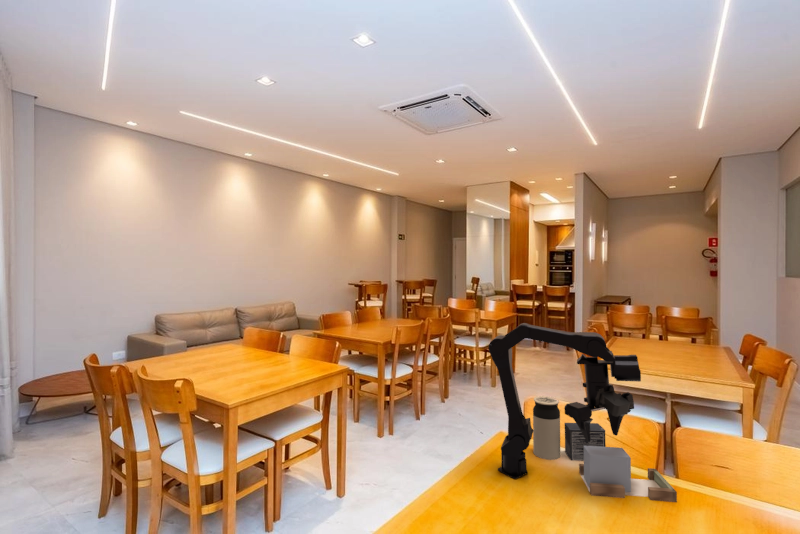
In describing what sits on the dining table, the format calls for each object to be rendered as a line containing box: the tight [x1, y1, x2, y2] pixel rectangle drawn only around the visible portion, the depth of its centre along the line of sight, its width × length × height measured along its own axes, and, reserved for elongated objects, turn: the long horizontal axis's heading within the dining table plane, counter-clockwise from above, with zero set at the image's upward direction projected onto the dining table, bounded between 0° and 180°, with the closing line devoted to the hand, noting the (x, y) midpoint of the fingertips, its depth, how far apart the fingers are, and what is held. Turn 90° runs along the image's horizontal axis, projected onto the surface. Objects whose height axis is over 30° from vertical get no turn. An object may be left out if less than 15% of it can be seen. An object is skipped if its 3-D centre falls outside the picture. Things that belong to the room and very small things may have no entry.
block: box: [583, 446, 632, 492], centre depth 112 cm, size 10×6×9 cm, turn 80°
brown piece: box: [578, 463, 678, 503], centre depth 111 cm, size 20×22×4 cm
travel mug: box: [532, 395, 561, 461], centre depth 131 cm, size 8×8×18 cm
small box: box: [564, 422, 607, 462], centre depth 129 cm, size 11×6×10 cm, turn 84°
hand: (601, 438), depth 112 cm, fingers open, 9 cm apart
